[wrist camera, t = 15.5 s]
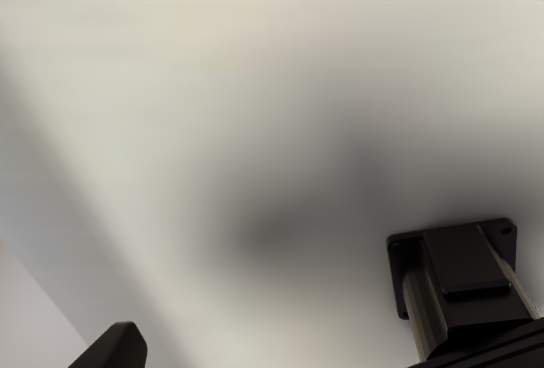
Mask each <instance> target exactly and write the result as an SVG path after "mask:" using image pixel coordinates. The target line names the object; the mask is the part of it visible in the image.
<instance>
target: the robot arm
mask: <svg viewBox="0 0 544 368" xmlns="http://www.w3.org/2000/svg"><path fill="white" fill-rule="evenodd" d="M504 227H507V228H506V229H504V230H502V229H503V228H504ZM516 240H517V227H516V225H515V224H514V222H513V221H512V220H511V219H508V218H502V219H496V220H489V221H483V222H476V223H470V224H463V225H457V226H451V227H444V228H438V229H431V230H425V231H418V232H412V233H405V234H399V235H393V236H390V237H389V238H388V239H387V241H386V246H387V252H388V258H389V264H390V270H391V276H392V282H393V288H394V294H395V300H396V306H397V312H398V316H399V318H401V319H403V320H410V323H411V327H412V331H413V335H414V338H415V342H416V346H417V350H418V354H419V358H420V363H418V364H415V365H412V366H410V367H407V368H544V317H542V318H541V317H540V315H539V314H538V312H537V310H536V309H535V307H534V305H533V304H532V302H531V300H530V299H529V297H528V295H527V294H526V292H525V290H524V289H523V287H522V285H521V284H520V282H519V280H518V279H517V277H516V275H515V260H516ZM396 243H399V245H396V246H393V244H396ZM146 358H147V344H146V341H145V340H144V338H143V336H142V335H141V333H140V331H139V329H138V328H137V326H136V324H135V323H134V322H132V321H126V322H117V323H115V324H113V325H112V326H111V327H110V328H109V329H108V330H107V331H106V332H104V333H103V334H102V335H101V336H100V337H99V338H98V339H97V340H96V341H95V342H94V343H93V344H92V345H91V346H90V347H89V348H88V349H87V350H86V351H85V352H84V353H83V354H81V355H80V357H78V358H77V359H76V360H75V361H74V362H73V363H72V364H71V365H70V366H69V367H68V368H145V363H146Z"/></svg>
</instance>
